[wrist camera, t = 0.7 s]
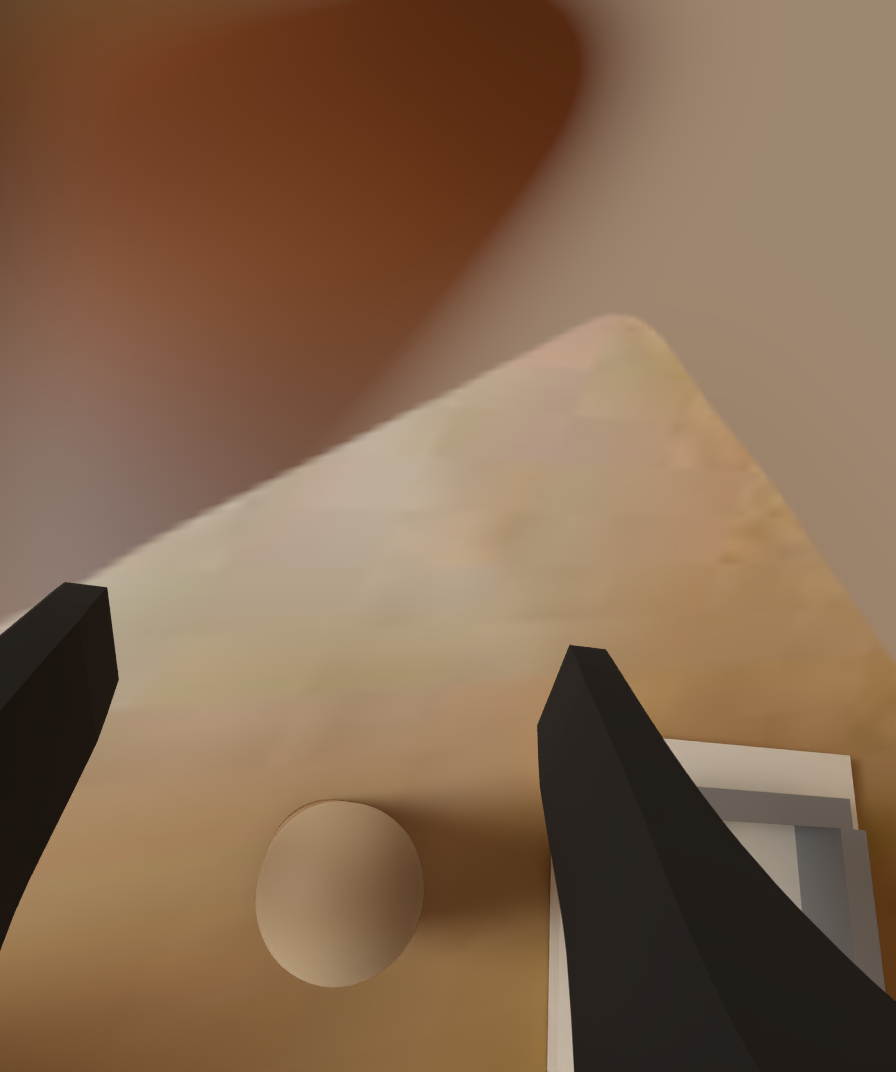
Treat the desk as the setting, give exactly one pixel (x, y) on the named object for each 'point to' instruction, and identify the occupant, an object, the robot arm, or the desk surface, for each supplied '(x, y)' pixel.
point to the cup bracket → (767, 853)
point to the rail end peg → (339, 893)
